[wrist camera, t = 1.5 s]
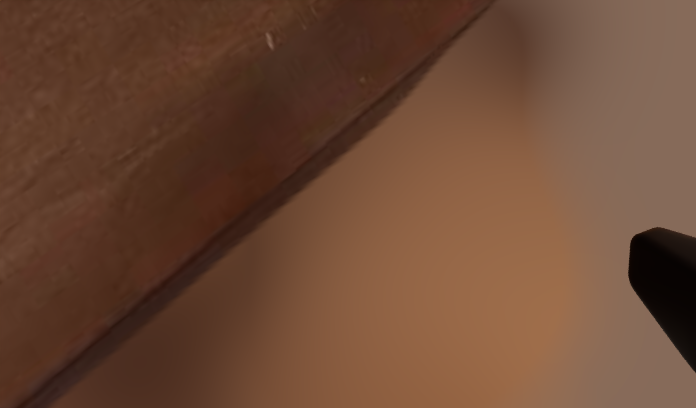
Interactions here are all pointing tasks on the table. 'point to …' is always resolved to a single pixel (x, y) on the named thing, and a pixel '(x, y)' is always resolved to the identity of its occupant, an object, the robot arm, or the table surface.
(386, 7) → the table surface
